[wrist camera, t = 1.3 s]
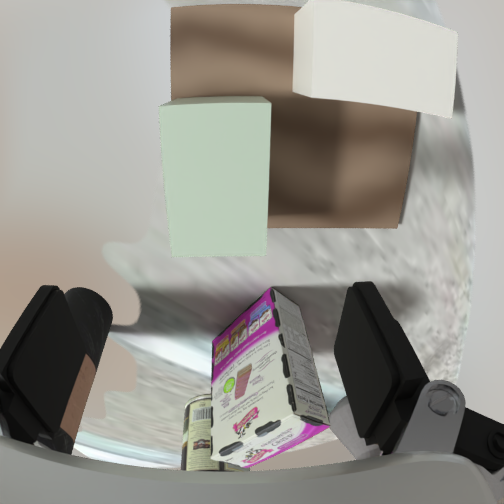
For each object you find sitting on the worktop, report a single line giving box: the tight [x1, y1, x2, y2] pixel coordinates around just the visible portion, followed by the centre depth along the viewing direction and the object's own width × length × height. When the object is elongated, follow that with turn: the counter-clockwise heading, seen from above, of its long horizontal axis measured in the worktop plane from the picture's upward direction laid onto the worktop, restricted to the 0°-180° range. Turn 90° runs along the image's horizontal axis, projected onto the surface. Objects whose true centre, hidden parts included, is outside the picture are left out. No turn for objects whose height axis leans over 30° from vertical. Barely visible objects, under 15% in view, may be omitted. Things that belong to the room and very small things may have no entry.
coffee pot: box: [329, 396, 382, 460], centre depth 41 cm, size 21×12×15 cm, turn 12°
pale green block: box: [159, 96, 271, 257], centre depth 24 cm, size 11×7×7 cm, turn 179°
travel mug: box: [37, 287, 113, 455], centre depth 28 cm, size 8×8×20 cm
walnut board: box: [171, 4, 417, 229], centre depth 26 cm, size 20×22×1 cm
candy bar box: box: [210, 287, 331, 468], centre depth 32 cm, size 11×5×16 cm, turn 140°
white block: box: [292, 0, 458, 119], centre depth 20 cm, size 11×7×7 cm, turn 89°
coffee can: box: [181, 394, 250, 472], centre depth 43 cm, size 10×10×14 cm
